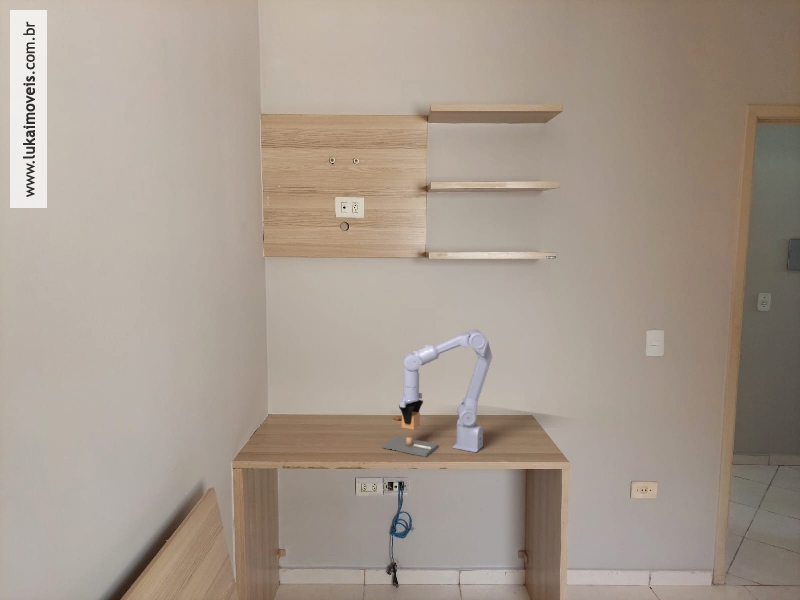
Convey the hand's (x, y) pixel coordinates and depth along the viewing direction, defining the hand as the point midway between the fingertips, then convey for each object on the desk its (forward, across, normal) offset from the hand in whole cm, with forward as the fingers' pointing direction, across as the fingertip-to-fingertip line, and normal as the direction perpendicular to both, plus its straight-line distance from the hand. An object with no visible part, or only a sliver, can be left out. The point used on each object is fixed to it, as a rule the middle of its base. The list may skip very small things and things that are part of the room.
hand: (411, 421), depth 193 cm
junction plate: (+9, +1, 0) cm, 9 cm away
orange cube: (+2, 0, 0) cm, 2 cm away
